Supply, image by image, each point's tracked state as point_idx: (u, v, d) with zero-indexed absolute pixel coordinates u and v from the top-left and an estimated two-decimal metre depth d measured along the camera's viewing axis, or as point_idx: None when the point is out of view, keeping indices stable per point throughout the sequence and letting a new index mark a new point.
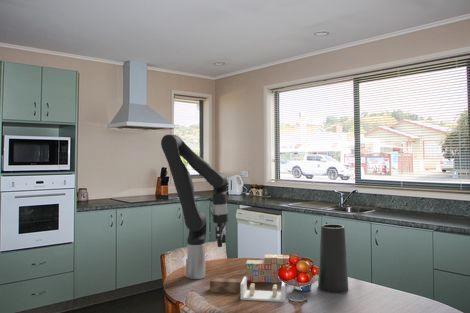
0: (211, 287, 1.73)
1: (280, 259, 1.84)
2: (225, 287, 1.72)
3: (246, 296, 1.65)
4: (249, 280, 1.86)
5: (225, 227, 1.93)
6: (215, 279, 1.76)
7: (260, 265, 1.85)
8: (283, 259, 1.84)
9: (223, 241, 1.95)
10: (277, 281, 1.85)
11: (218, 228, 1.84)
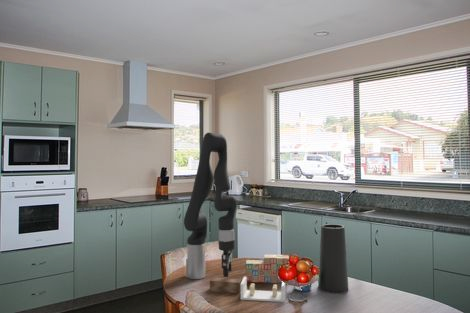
0: (211, 287, 1.74)
1: (280, 259, 1.84)
2: (225, 287, 1.72)
3: (246, 296, 1.65)
4: (249, 280, 1.86)
5: (231, 254, 1.76)
6: (216, 278, 1.77)
7: (260, 265, 1.85)
8: (283, 259, 1.84)
9: (229, 269, 1.79)
10: (277, 281, 1.85)
11: (224, 257, 1.68)
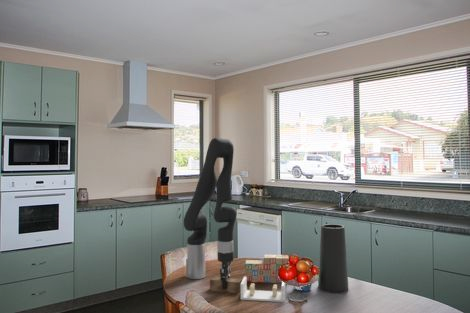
0: (211, 286, 1.75)
1: (279, 259, 1.84)
2: None
3: (246, 296, 1.65)
4: (248, 280, 1.86)
5: (230, 266, 1.76)
6: (216, 277, 1.77)
7: (259, 265, 1.85)
8: (282, 259, 1.84)
9: None
10: (276, 281, 1.85)
11: (223, 271, 1.68)
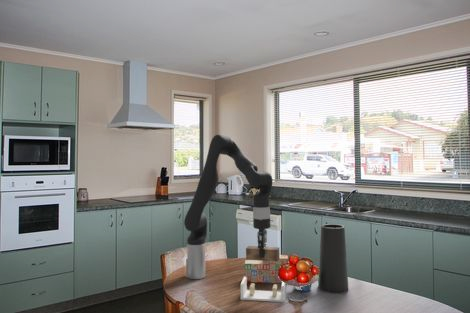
0: (247, 255, 1.66)
1: None
2: None
3: (246, 296, 1.65)
4: (247, 280, 1.86)
5: (266, 234, 1.68)
6: (252, 246, 1.69)
7: (258, 265, 1.85)
8: (281, 259, 1.84)
9: None
10: (275, 281, 1.85)
11: (261, 237, 1.60)
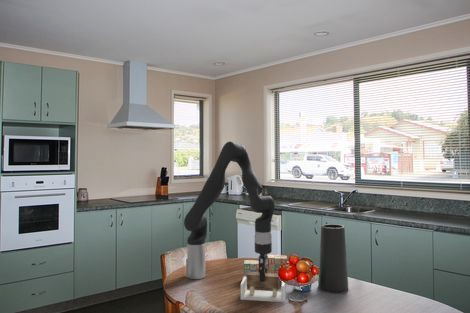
0: (248, 281, 1.66)
1: (277, 259, 1.84)
2: None
3: (246, 296, 1.65)
4: None
5: None
6: (252, 272, 1.69)
7: (257, 265, 1.85)
8: (280, 259, 1.84)
9: None
10: None
11: (262, 260, 1.60)
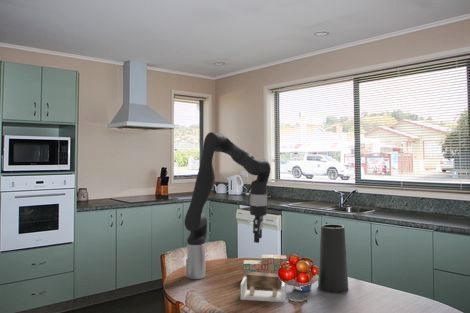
0: (248, 281, 1.66)
1: (277, 259, 1.84)
2: (263, 281, 1.64)
3: (246, 296, 1.65)
4: None
5: None
6: (252, 272, 1.69)
7: (257, 265, 1.85)
8: (280, 259, 1.84)
9: (259, 236, 1.73)
10: None
11: (256, 221, 1.62)
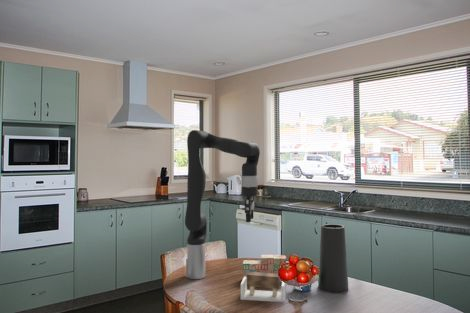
0: (248, 281, 1.66)
1: (276, 259, 1.84)
2: (263, 281, 1.64)
3: (246, 296, 1.65)
4: None
5: None
6: (252, 272, 1.69)
7: (256, 265, 1.85)
8: (279, 259, 1.84)
9: (251, 217, 1.79)
10: None
11: (248, 201, 1.69)
